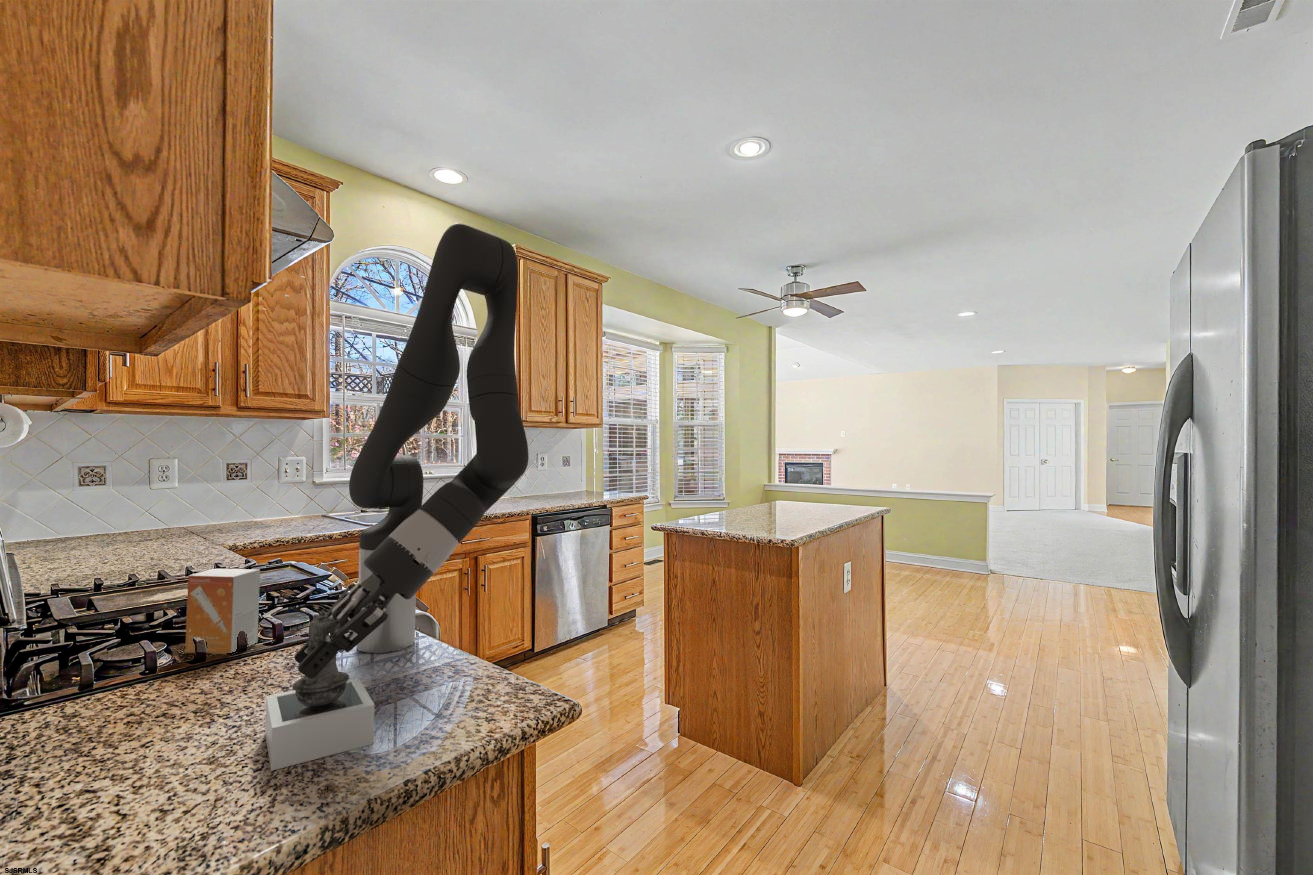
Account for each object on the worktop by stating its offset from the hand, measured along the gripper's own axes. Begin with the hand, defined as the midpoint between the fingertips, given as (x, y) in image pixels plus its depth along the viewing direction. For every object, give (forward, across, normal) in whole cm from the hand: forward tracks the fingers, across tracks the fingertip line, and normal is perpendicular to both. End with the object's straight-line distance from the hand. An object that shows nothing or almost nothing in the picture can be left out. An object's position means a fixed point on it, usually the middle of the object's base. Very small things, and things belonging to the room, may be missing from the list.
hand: (302, 667), depth 68 cm
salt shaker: (+3, 0, +5) cm, 6 cm away
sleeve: (+5, 0, +7) cm, 9 cm away
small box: (+11, -45, +1) cm, 47 cm away
